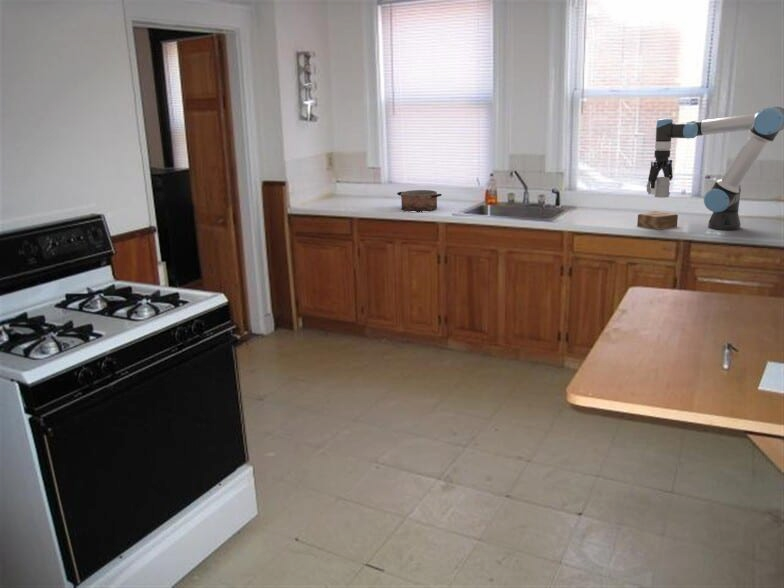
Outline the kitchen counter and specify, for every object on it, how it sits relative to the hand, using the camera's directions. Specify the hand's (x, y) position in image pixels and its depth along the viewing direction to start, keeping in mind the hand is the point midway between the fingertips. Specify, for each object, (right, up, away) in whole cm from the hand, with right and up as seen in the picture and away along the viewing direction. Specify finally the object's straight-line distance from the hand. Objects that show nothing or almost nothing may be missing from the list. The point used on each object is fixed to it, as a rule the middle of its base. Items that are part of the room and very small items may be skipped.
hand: (659, 193), depth 369 cm
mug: (-1, -2, 0) cm, 2 cm away
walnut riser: (0, -16, +5) cm, 17 cm away
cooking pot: (-122, +1, +78) cm, 145 cm away
